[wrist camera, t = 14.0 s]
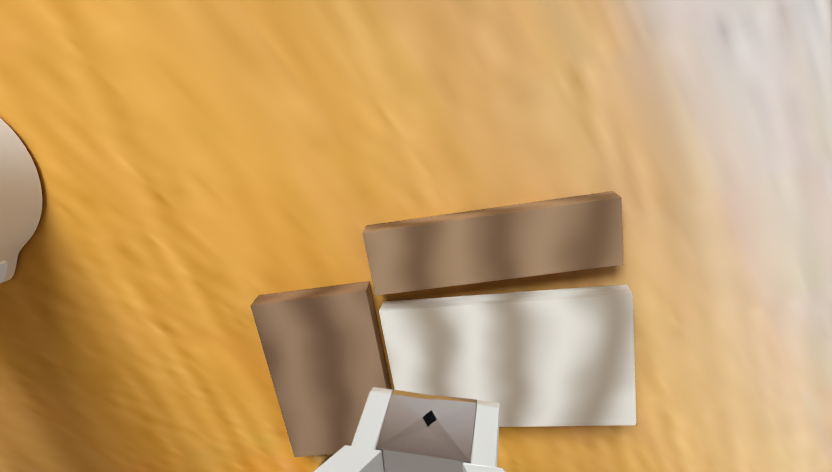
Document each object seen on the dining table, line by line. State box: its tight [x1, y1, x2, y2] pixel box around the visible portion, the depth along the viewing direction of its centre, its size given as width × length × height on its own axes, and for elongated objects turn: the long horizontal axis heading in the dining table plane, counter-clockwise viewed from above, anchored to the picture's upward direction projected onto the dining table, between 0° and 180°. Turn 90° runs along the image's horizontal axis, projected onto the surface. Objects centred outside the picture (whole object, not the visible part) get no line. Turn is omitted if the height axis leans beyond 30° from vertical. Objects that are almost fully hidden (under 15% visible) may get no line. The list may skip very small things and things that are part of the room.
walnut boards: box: [251, 191, 624, 457], centre depth 43 cm, size 31×21×2 cm
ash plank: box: [379, 285, 636, 427], centre depth 43 cm, size 20×12×2 cm, turn 99°
